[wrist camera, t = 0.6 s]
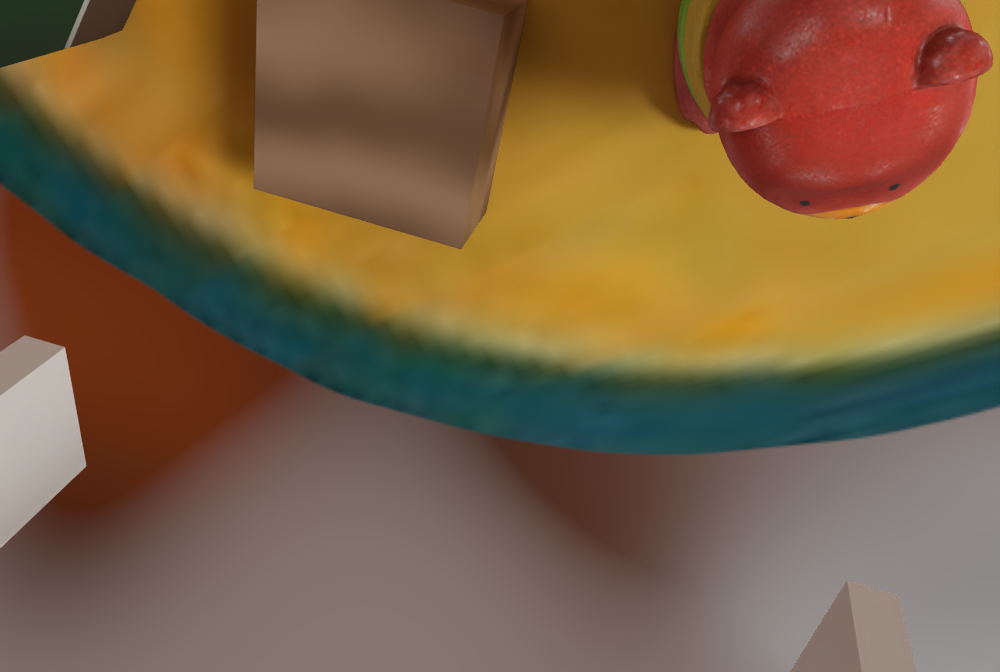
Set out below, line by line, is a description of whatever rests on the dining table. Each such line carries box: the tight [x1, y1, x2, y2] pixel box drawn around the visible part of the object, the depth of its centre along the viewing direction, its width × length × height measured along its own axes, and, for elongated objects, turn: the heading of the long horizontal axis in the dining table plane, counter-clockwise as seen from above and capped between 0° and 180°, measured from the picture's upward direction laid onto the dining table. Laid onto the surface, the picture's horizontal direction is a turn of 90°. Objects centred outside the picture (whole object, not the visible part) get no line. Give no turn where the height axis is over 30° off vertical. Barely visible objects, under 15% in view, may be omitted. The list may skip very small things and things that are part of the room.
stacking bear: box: [673, 0, 993, 219], centre depth 26 cm, size 11×10×18 cm
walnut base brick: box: [254, 0, 528, 249], centre depth 38 cm, size 11×11×5 cm
